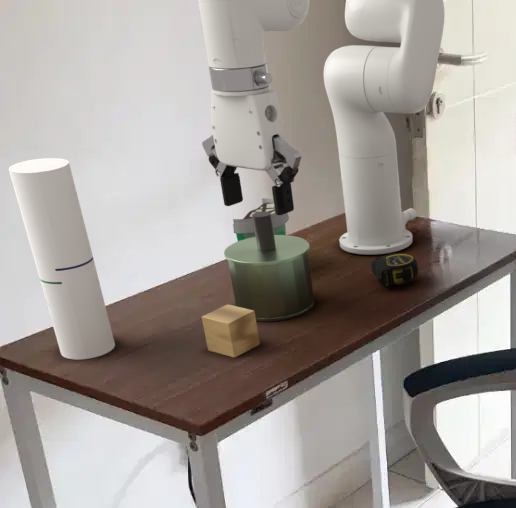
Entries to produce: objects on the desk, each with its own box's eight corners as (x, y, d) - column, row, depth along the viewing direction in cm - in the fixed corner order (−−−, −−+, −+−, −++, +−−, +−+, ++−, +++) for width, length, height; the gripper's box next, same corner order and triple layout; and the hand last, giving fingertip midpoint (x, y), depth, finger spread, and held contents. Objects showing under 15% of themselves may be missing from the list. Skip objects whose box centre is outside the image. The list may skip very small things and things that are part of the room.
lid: (265, 237, 153) (259, 197, 150) (327, 249, 148) (322, 208, 145) (207, 261, 145) (199, 220, 141) (270, 275, 139) (264, 232, 136)
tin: (273, 287, 157) (265, 234, 153) (329, 300, 152) (323, 245, 147) (221, 312, 149) (210, 257, 144) (278, 327, 144) (269, 270, 139)
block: (233, 337, 141) (227, 304, 139) (260, 344, 139) (254, 310, 136) (207, 350, 138) (201, 316, 135) (234, 357, 135) (228, 323, 133)
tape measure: (371, 278, 160) (369, 255, 158) (413, 272, 161) (411, 249, 159) (380, 292, 154) (378, 269, 152) (423, 286, 156) (421, 263, 154)
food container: (278, 284, 158) (269, 221, 153) (242, 282, 160) (231, 220, 154) (306, 257, 169) (298, 198, 163) (272, 256, 170) (263, 197, 164)
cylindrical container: (114, 355, 137) (67, 169, 124) (59, 362, 136) (5, 175, 122) (115, 335, 143) (70, 155, 130) (62, 342, 141) (11, 161, 128)
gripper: (308, 79, 132) (323, 209, 141) (213, 70, 140) (233, 194, 149) (269, 89, 127) (287, 223, 136) (172, 79, 134) (195, 207, 143)
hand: (259, 208), depth 142 cm, fingers open, 9 cm apart
